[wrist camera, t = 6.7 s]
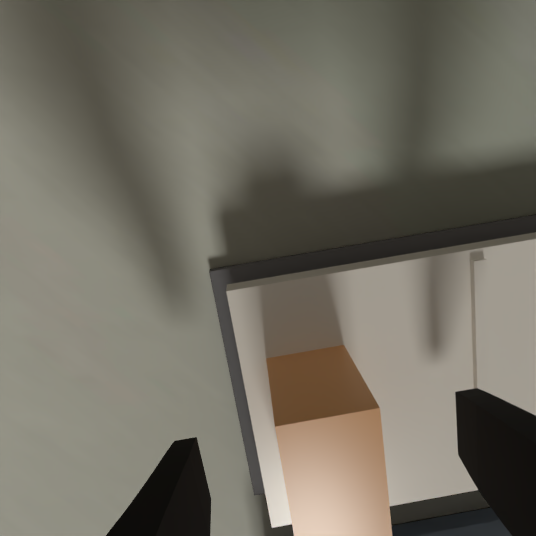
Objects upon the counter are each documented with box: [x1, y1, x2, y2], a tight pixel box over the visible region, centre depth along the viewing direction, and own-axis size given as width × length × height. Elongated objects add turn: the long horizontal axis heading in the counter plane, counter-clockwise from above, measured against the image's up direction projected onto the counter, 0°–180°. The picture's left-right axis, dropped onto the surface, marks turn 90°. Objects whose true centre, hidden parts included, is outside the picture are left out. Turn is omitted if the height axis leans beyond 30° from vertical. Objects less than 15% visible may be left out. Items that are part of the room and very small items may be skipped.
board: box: [209, 215, 536, 495], centre depth 15 cm, size 13×9×1 cm
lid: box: [226, 232, 536, 536], centre depth 12 cm, size 12×9×5 cm
